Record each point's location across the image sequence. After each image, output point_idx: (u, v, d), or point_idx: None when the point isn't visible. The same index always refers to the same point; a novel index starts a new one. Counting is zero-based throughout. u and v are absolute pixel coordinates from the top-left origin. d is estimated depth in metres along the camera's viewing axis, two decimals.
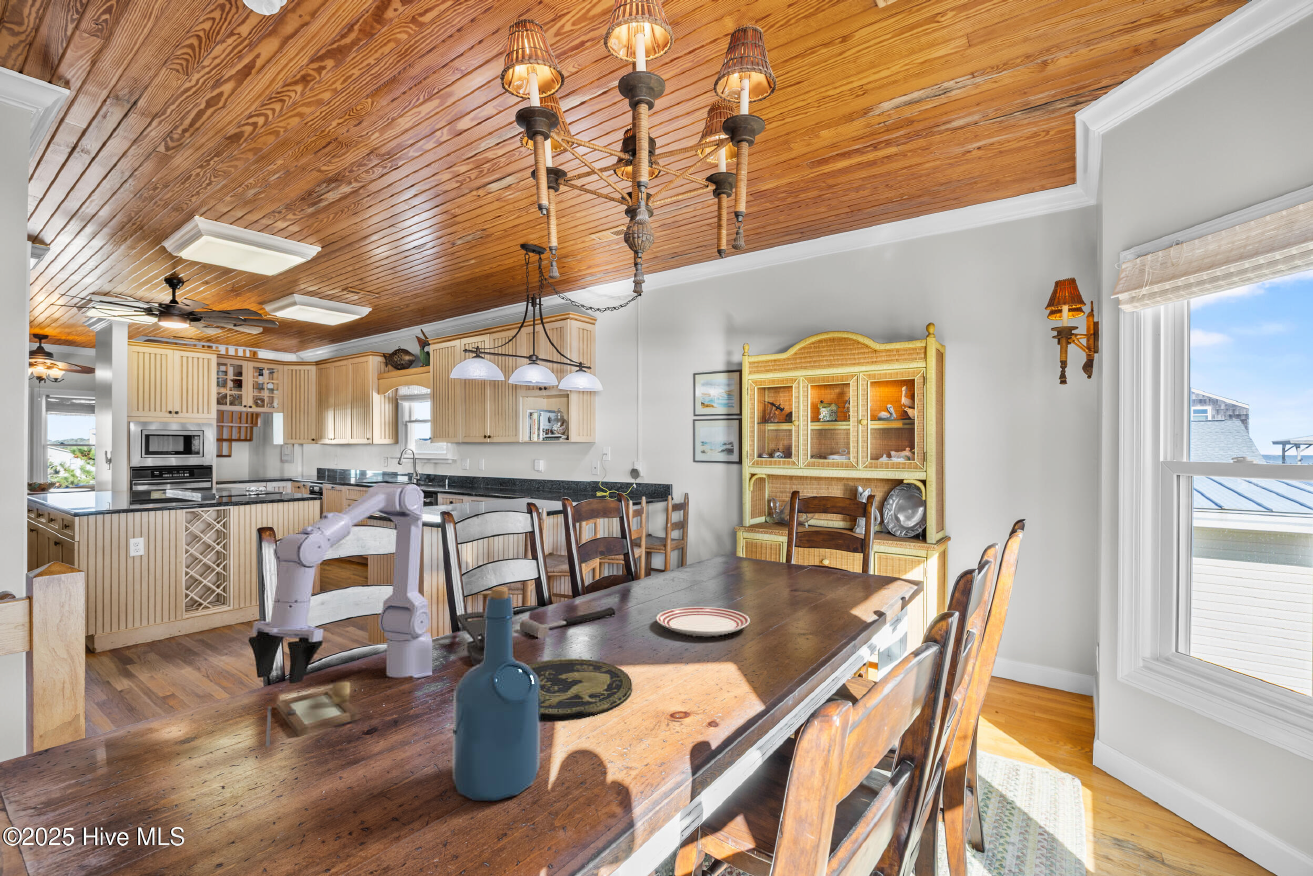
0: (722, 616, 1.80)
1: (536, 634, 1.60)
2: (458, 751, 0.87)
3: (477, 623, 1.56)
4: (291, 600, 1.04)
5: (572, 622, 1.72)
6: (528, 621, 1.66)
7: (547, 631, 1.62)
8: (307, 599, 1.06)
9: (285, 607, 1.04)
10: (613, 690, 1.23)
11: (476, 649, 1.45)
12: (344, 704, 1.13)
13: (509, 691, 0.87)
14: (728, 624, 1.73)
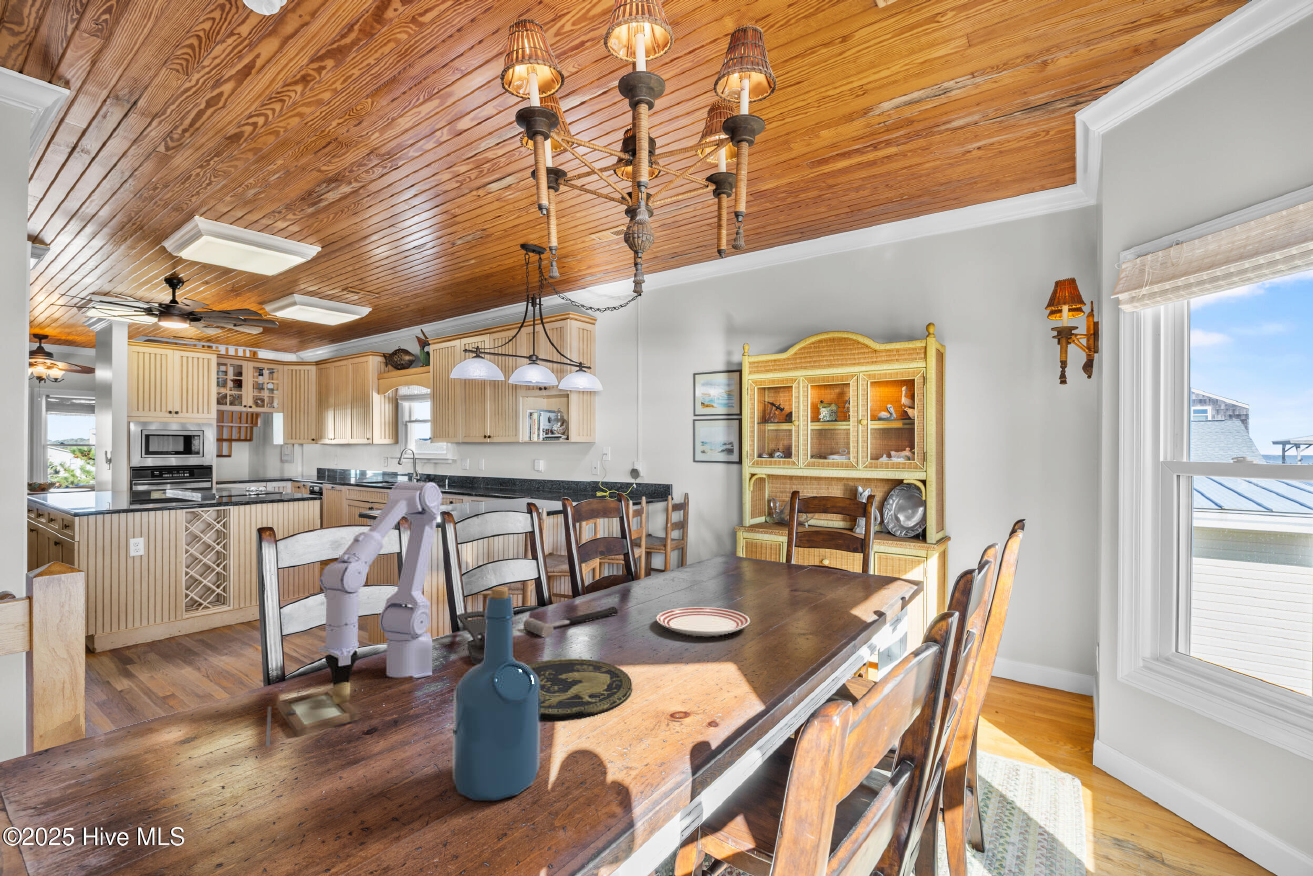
0: (722, 616, 1.80)
1: (541, 633, 1.61)
2: (458, 751, 0.87)
3: (478, 622, 1.56)
4: (341, 624, 1.15)
5: (575, 621, 1.73)
6: (532, 620, 1.67)
7: (552, 630, 1.63)
8: (355, 620, 1.17)
9: (328, 630, 1.15)
10: (613, 690, 1.23)
11: (475, 648, 1.46)
12: (344, 704, 1.13)
13: (509, 691, 0.87)
14: (728, 624, 1.73)
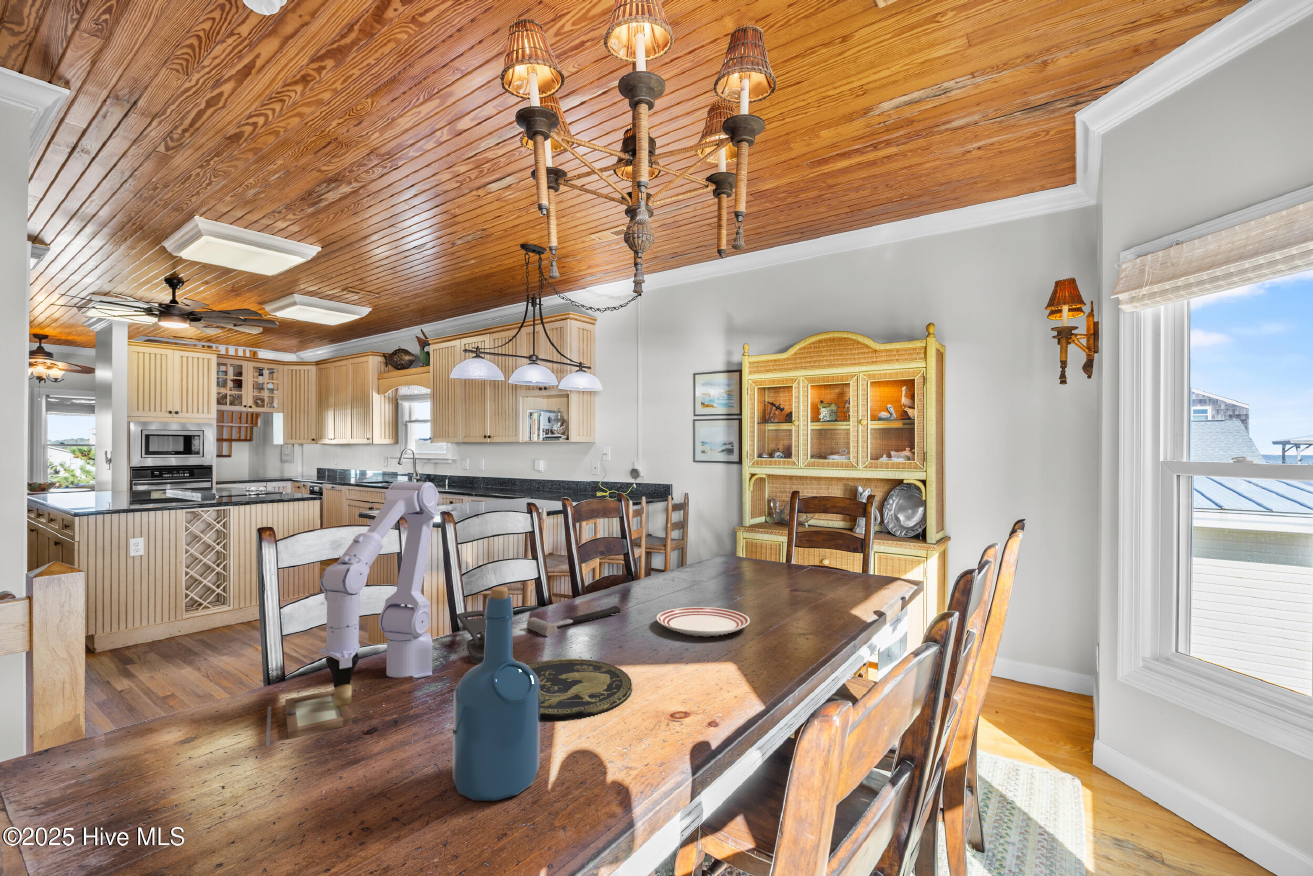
0: (722, 616, 1.80)
1: (545, 632, 1.62)
2: (458, 751, 0.87)
3: (477, 621, 1.57)
4: (343, 626, 1.14)
5: (579, 620, 1.74)
6: (536, 620, 1.67)
7: (556, 629, 1.64)
8: (357, 622, 1.16)
9: (329, 632, 1.14)
10: (613, 690, 1.23)
11: (475, 647, 1.47)
12: (343, 707, 1.12)
13: (509, 691, 0.87)
14: (728, 624, 1.73)
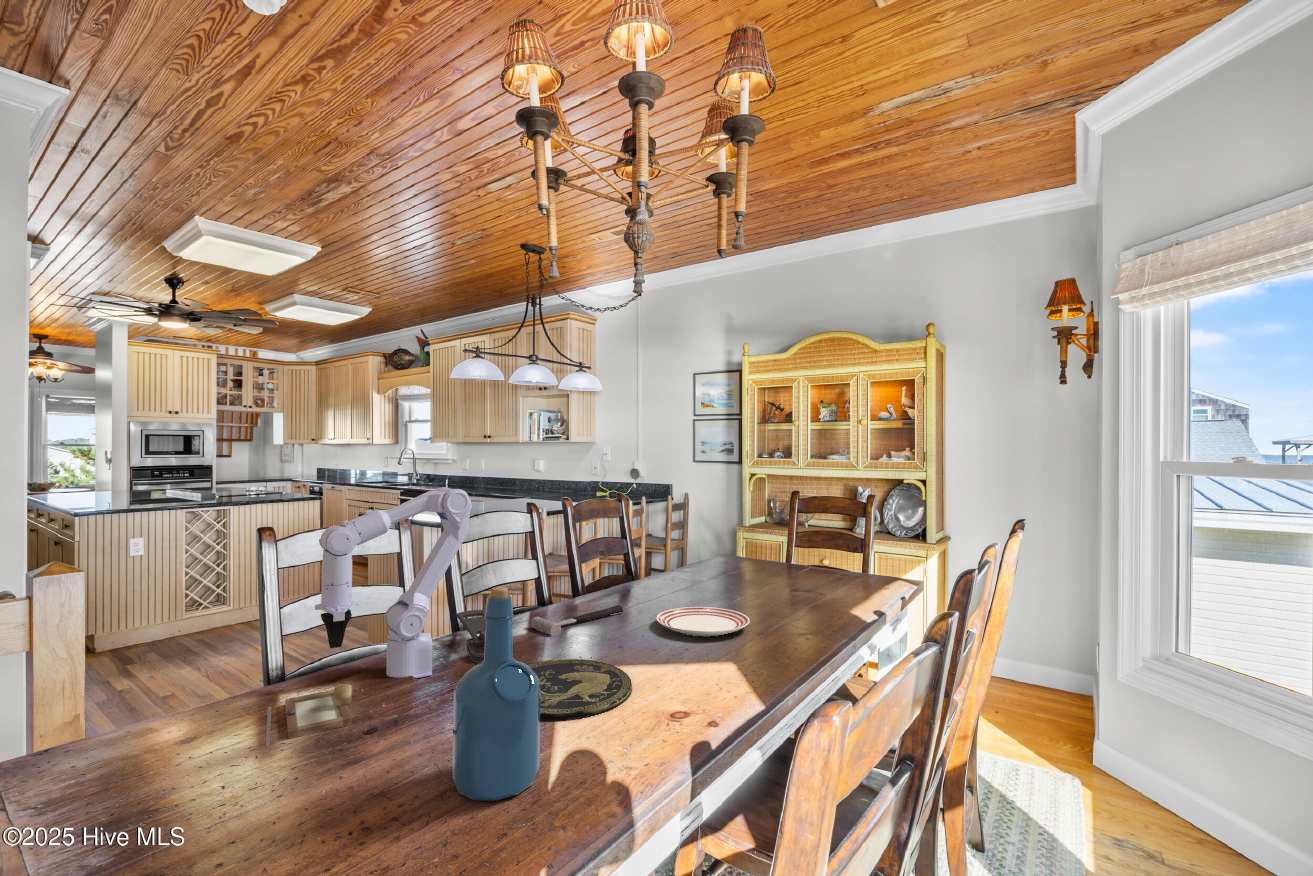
0: (722, 616, 1.80)
1: (549, 632, 1.63)
2: (458, 751, 0.87)
3: (477, 621, 1.58)
4: (328, 584, 1.22)
5: (582, 620, 1.75)
6: (540, 619, 1.68)
7: (560, 629, 1.64)
8: (343, 582, 1.23)
9: (324, 589, 1.22)
10: (613, 690, 1.23)
11: (474, 646, 1.47)
12: (343, 707, 1.12)
13: (509, 691, 0.87)
14: (728, 624, 1.73)
